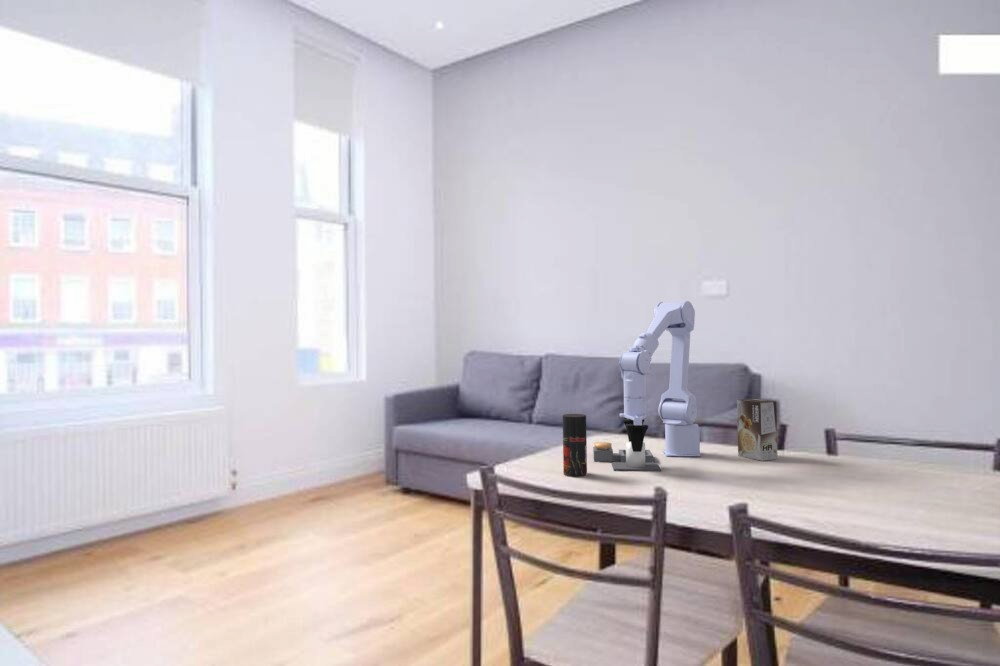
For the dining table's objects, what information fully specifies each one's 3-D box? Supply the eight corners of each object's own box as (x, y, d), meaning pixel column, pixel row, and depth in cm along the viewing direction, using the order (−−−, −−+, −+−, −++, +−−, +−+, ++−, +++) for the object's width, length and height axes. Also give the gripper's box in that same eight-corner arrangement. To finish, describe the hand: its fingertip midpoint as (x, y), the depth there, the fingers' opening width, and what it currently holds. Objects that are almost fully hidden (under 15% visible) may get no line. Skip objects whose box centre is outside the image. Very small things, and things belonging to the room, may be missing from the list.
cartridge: (644, 463, 177) (643, 438, 176) (646, 467, 172) (646, 441, 171) (625, 463, 177) (624, 438, 177) (626, 467, 172) (626, 441, 172)
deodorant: (588, 476, 165) (587, 416, 165) (564, 477, 165) (563, 417, 165) (585, 471, 171) (584, 413, 171) (562, 471, 171) (561, 413, 171)
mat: (656, 464, 178) (656, 462, 178) (661, 471, 170) (661, 469, 170) (611, 464, 179) (611, 462, 179) (613, 470, 171) (613, 468, 171)
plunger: (611, 455, 187) (610, 442, 187) (612, 458, 182) (612, 445, 182) (594, 455, 188) (593, 442, 188) (594, 458, 183) (594, 445, 183)
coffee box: (778, 459, 182) (778, 400, 182) (761, 461, 179) (761, 402, 179) (753, 453, 190) (752, 397, 190) (736, 455, 188) (735, 399, 187)
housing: (649, 456, 188) (649, 446, 188) (653, 463, 180) (653, 452, 179) (593, 456, 190) (592, 446, 190) (594, 462, 181) (594, 451, 181)
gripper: (617, 394, 182) (618, 443, 182) (621, 400, 167) (622, 453, 167) (643, 394, 181) (644, 443, 181) (650, 400, 167) (650, 454, 167)
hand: (635, 448), depth 174 cm, fingers open, 7 cm apart
